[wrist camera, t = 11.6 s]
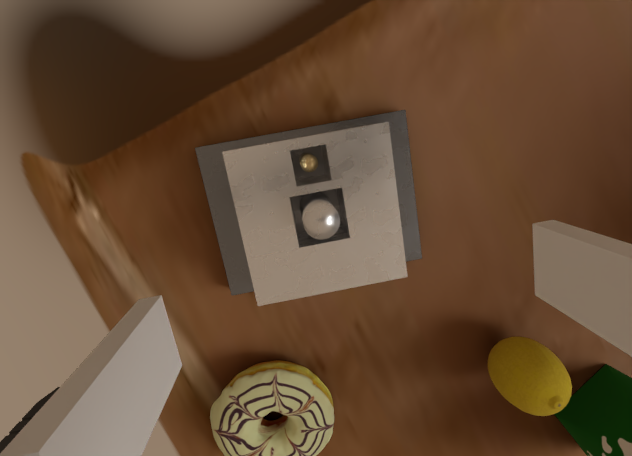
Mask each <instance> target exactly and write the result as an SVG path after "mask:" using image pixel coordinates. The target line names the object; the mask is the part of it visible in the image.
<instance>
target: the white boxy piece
mask: <svg viewBox="0 0 632 456" xmlns="http://www.w3.org/2000/svg"><path fill="white" fill-rule="evenodd" d="M319 145H321V150H322V156H323V162H324V168H325V173H326V175H320V176H315V177H309V178H304V179H299V180H295V176H294V170H293V165H292V160H291V154H290V151H291V150H297V149H302V148H308V147H313V146H319ZM222 154H223V158H224V162H225V167H226V171H227V175H228V180H229V184H230V188H231V193H232V197H233V201H234V205H235V210H236V214H237V218H238V223H239V227H240V231H241V236H242V240H243V244H244V249H245V253H246V257H247V262H248V266H249V270H250V275H251V279H252V283H253V288H254V292H255V296H256V301H257V305H258V306H261V305H266V304H272V303H277V302H282V301H287V300H292V299H297V298H302V297H307V296H312V295H318V294H323V293H328V292H333V291H338V290H343V289H348V288H353V287H359V286H364V285H369V284H374V283H379V282H384V281H389V280H394V279H399V278H405V277H408V276H407V268H406V259H405V251H404V243H403V235H402V227H401V219H400V210H399V202H398V194H397V186H396V178H395V170H394V161H393V153H392V145H391V137H390V129H389V122H383V123H376V124H370V125H365V126H359V127H353V128H348V129H342V130H337V131H331V132H326V133H320V134H315V135H309V136H304V137H298V138H293V139H287V140H281V141H276V142H270V143H265V144H259V145H254V146H248V147H243V148H237V149H232V150H227V151H223V152H222ZM331 189H336V193H337V199H338V205H339V211H340V217H341V224H342V225H339V228H338V230H337V232H336V233H335V234H334V235H333V236H331V237H330V238H327V239H315V238H313V237H311V236H310V235H309V234H308V233H307V232H303V233H297V229H296V223H295V218H294V213H293V208H292V203H291V198H290V197H293V196H299V195H304V194H309V193H315V192H320V191H326V190H331Z"/></svg>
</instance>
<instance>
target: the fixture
mask: <svg viewBox="0 0 632 456" xmlns="http://www.w3.org/2000/svg"><path fill="white" fill-rule="evenodd" d="M383 122H389V129H390V137H391V145H392V153H393V161H394V170H395V178H396V186H397V194H398V202H399V210H400V219H401V227H402V235H403V243H404V251H405V259H406V261H411V260H416V259H421V258H422V253H421V245H420V236H419V227H418V218H417V209H416V200H415V191H414V182H413V173H412V164H411V155H410V147H409V138H408V129H407V120H406V111H405V110H401V111H396V112H390V113H385V114H379V115H374V116H368V117H362V118H357V119H351V120H346V121H340V122H335V123H329V124H324V125H318V126H313V127H307V128H302V129H296V130H291V131H285V132H280V133H274V134H269V135H263V136H257V137H252V138H246V139H241V140H235V141H230V142H224V143H219V144H213V145H208V146H202V147H197V148H195V150H196V154H197V158H198V162H199V166H200V171H201V175H202V179H203V183H204V187H205V191H206V195H207V199H208V203H209V207H210V211H211V215H212V219H213V223H214V227H215V231H216V235H217V239H218V243H219V247H220V251H221V255H222V259H223V263H224V267H225V271H226V275H227V279H228V283H229V287H230V291H231V295H237V294H242V293H247V292H252V291H254V288H253V283H252V279H251V275H250V270H249V266H248V262H247V257H246V253H245V249H244V244H243V240H242V236H241V231H240V227H239V223H238V218H237V214H236V210H235V205H234V201H233V197H232V193H231V188H230V184H229V180H228V175H227V171H226V167H225V162H224V158H223V154H222V152H223V151H227V150H232V149H237V148H243V147H248V146H254V145H259V144H265V143H270V142H276V141H281V140H287V139H293V138H298V137H304V136H309V135H315V134H320V133H326V132H331V131H337V130H342V129H348V128H353V127H359V126H365V125H370V124H376V123H383ZM290 154H291V160H292V165H293V170H294V176H295V180H299V179H304V178H309V177H315V176H320V175H326V173H325V168H324V162H323V156H322V150H321V145H319V146H313V147H308V148H302V149H297V150H291V151H290ZM290 198H291V203H292V208H293V213H294V218H295V223H296V229H297V233H303V232H307V233H308V234H309V235H310V236H311V237H313V238H315V239H327V238H330V237H331V236H333V235H334V234H335V233H336V232H337V230H338V228H339V225H342V224H341V217H340V211H339V205H338V199H337V193H336V189H331V190H326V191H320V192H315V193H309V194H304V195H299V196H293V197H290Z"/></svg>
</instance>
